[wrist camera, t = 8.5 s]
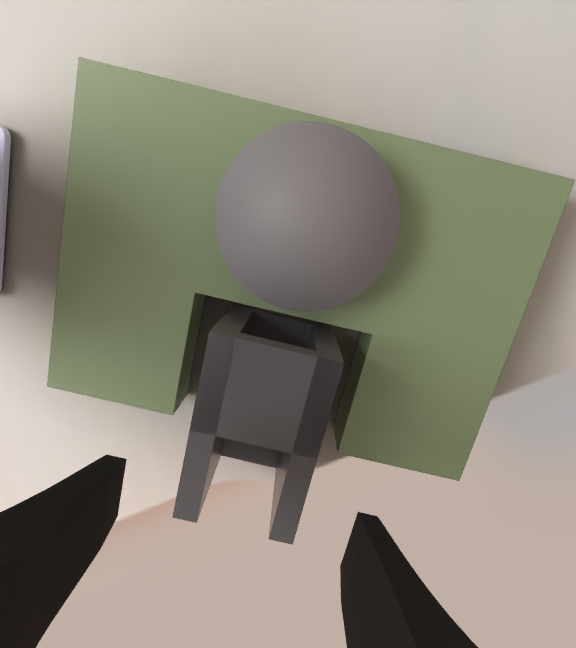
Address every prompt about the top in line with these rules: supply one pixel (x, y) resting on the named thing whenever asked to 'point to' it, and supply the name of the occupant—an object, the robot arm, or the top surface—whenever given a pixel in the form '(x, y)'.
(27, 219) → the top surface
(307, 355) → the chute
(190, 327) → the notched green slab
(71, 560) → the robot arm
